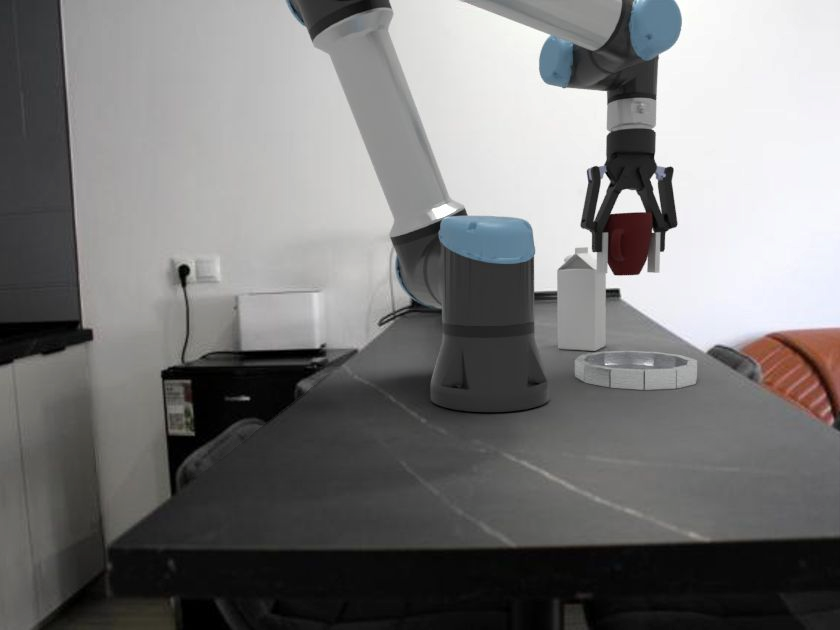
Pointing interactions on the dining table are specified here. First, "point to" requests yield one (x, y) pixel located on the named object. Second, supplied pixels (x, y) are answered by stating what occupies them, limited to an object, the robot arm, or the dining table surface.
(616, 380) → the round white tray
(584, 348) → the milk carton
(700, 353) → the dining table surface
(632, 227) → the mug
